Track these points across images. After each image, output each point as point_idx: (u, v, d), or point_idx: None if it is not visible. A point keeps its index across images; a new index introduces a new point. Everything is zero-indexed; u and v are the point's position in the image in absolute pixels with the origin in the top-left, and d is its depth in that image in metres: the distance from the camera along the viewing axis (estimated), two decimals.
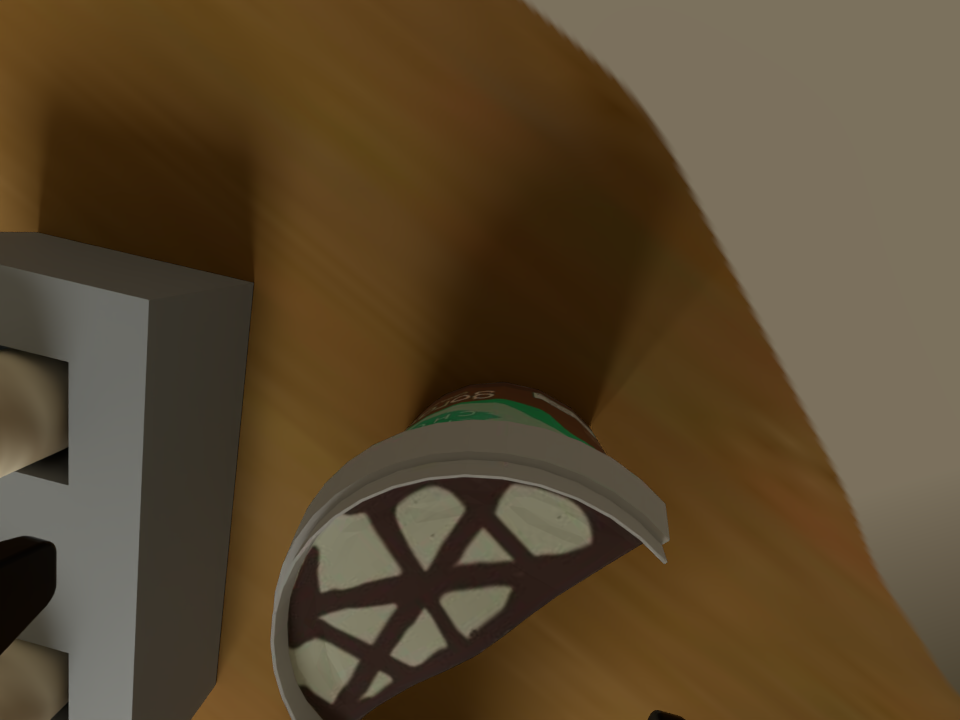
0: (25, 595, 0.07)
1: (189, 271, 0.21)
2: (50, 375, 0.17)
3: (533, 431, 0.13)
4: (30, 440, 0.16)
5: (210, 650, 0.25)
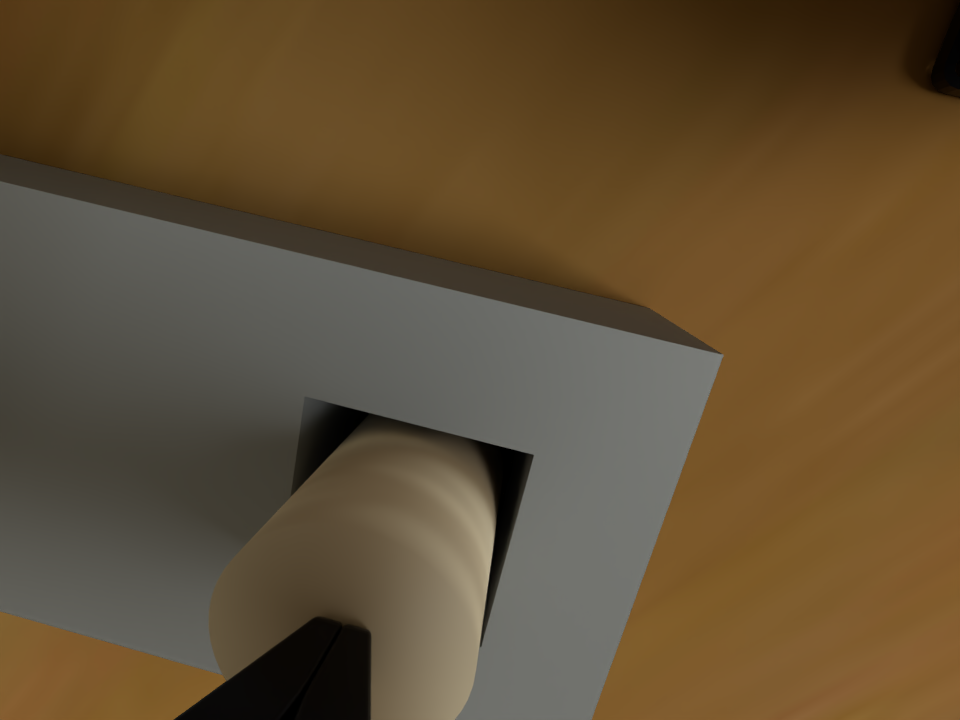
0: None
1: None
2: None
3: None
4: None
5: (543, 285, 0.14)
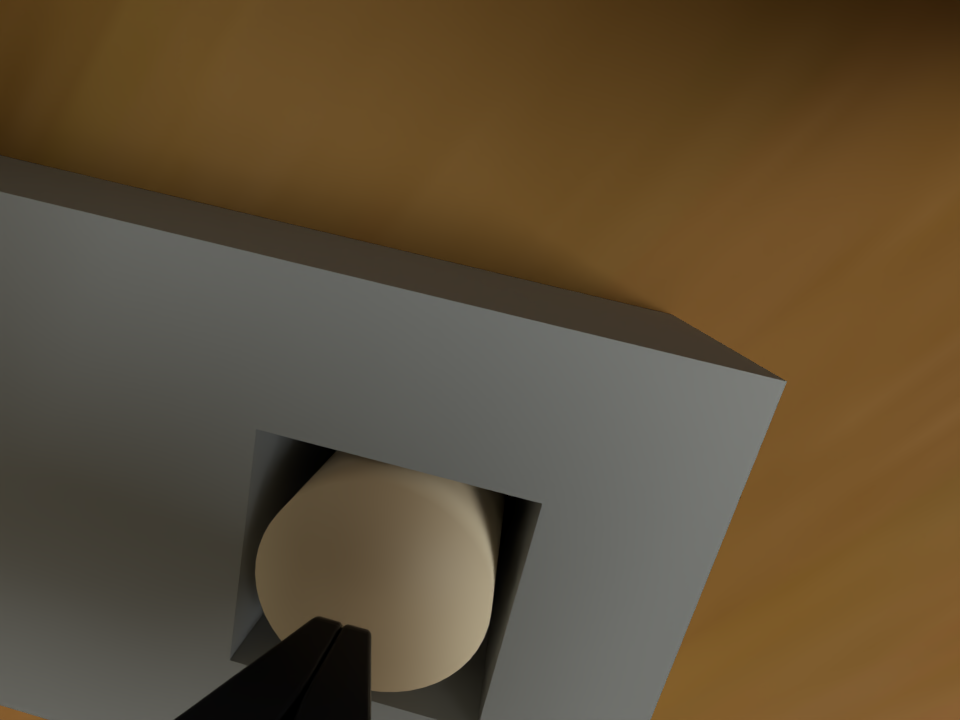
0: None
1: None
2: None
3: None
4: None
5: (551, 289, 0.12)
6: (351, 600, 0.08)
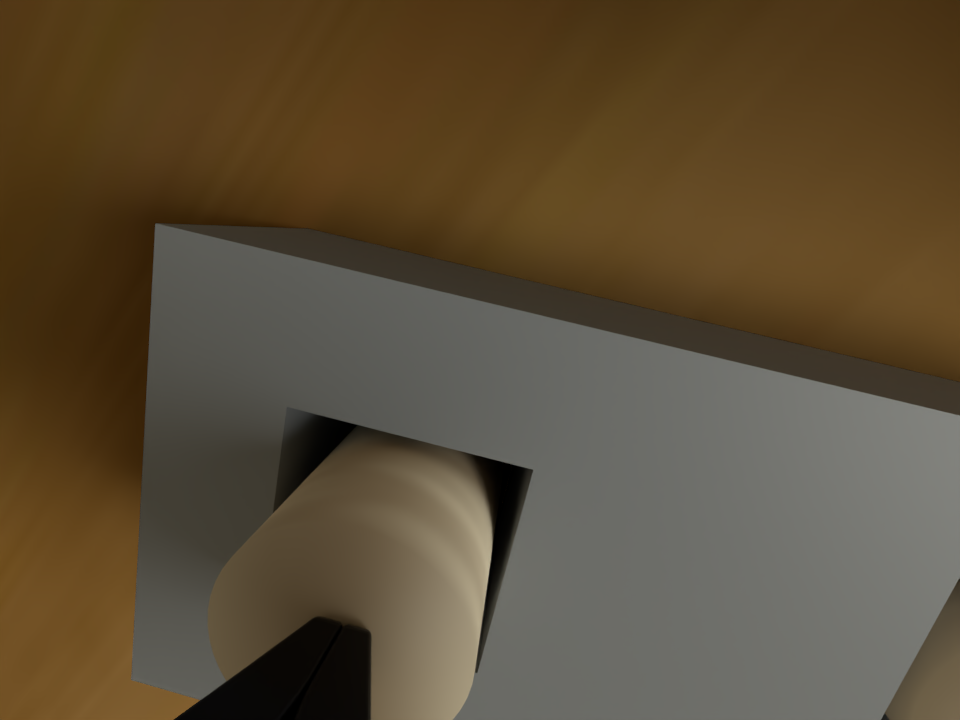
0: None
1: None
2: (350, 435, 0.11)
3: None
4: (416, 452, 0.09)
5: None
6: None
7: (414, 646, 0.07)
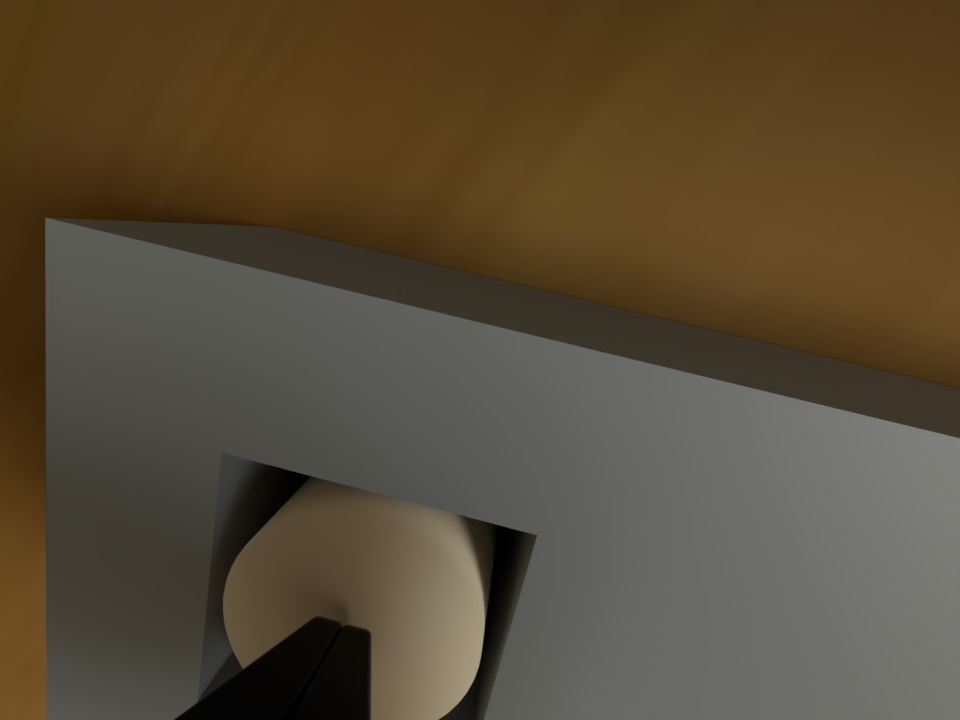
0: None
1: None
2: None
3: None
4: None
5: None
6: None
7: (424, 630, 0.07)
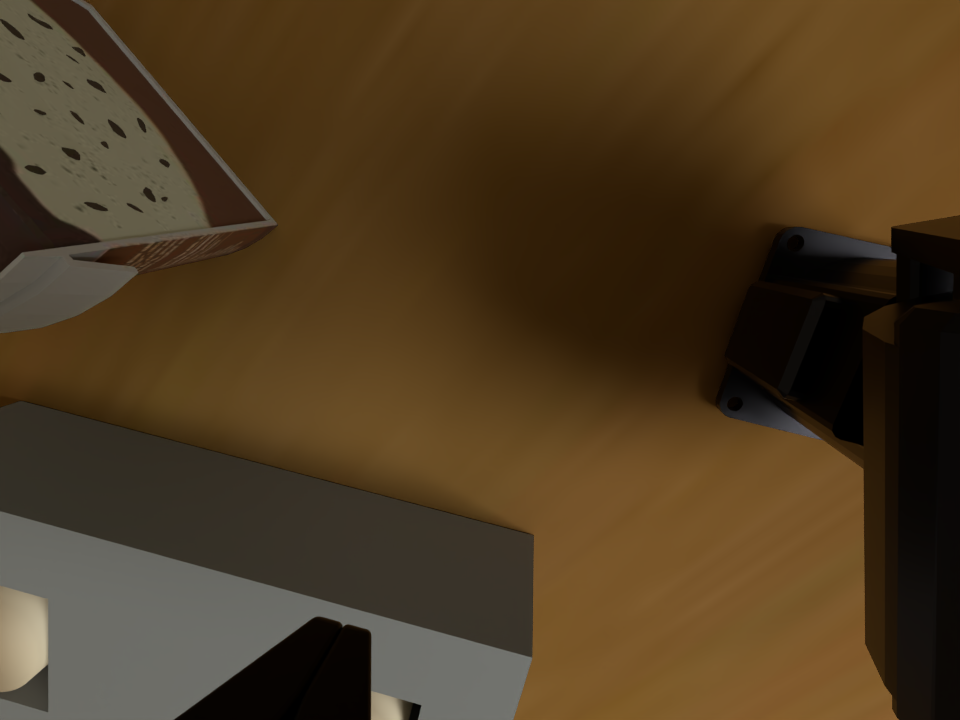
0: None
1: None
2: None
3: None
4: None
5: (453, 526, 0.19)
6: None
7: (10, 641, 0.16)
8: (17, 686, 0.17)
